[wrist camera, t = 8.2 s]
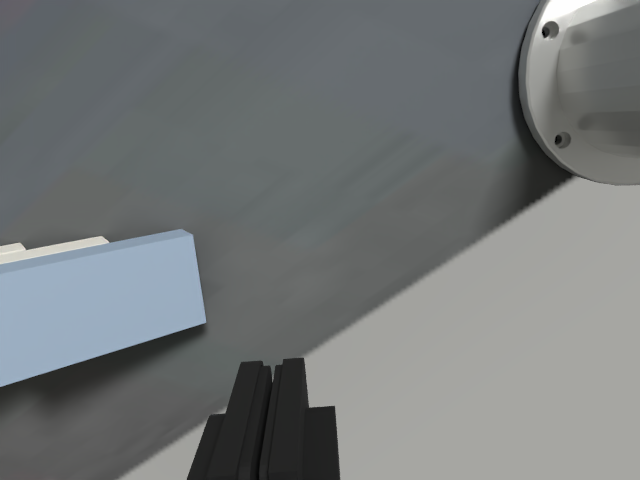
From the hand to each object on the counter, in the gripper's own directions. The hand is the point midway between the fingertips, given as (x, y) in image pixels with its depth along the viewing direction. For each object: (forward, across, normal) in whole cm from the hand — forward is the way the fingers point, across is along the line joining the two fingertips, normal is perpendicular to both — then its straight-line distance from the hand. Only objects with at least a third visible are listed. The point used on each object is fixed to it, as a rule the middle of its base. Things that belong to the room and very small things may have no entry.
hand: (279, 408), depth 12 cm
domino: (+13, +6, +1) cm, 15 cm away
